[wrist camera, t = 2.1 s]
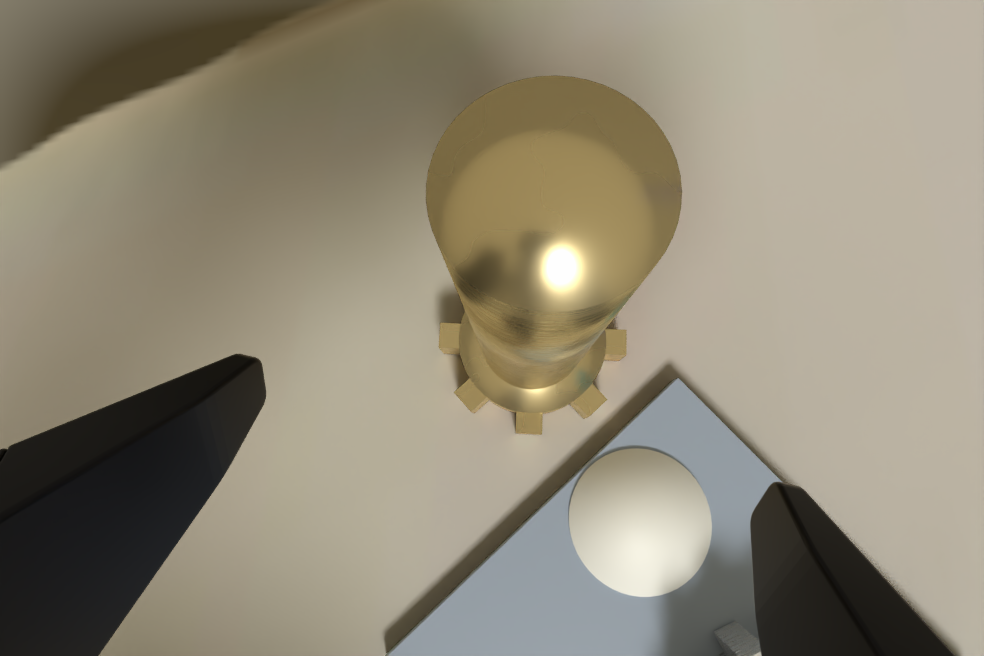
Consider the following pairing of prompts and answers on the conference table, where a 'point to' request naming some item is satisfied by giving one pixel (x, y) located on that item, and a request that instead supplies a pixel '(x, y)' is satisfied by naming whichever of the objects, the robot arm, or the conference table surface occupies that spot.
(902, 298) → the conference table surface
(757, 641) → the sun gear
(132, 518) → the robot arm
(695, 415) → the carrier plate
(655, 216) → the gear
